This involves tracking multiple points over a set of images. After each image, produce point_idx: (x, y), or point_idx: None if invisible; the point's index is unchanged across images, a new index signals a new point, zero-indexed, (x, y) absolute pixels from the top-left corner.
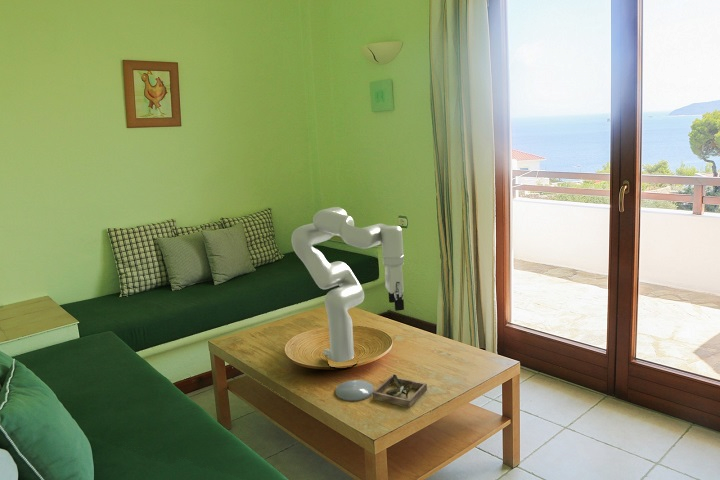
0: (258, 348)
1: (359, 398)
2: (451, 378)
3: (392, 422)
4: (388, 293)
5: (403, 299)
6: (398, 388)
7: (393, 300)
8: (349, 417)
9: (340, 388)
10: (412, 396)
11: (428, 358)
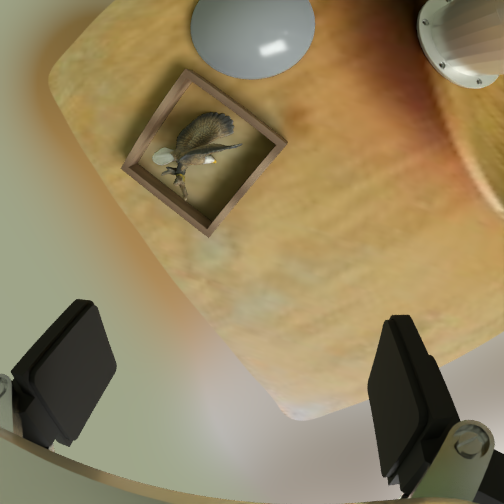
0: None
1: (191, 33)
2: (264, 307)
3: (80, 114)
4: (445, 400)
5: (58, 438)
6: (180, 149)
7: (380, 368)
8: (117, 15)
9: None
10: (142, 180)
11: (400, 291)
